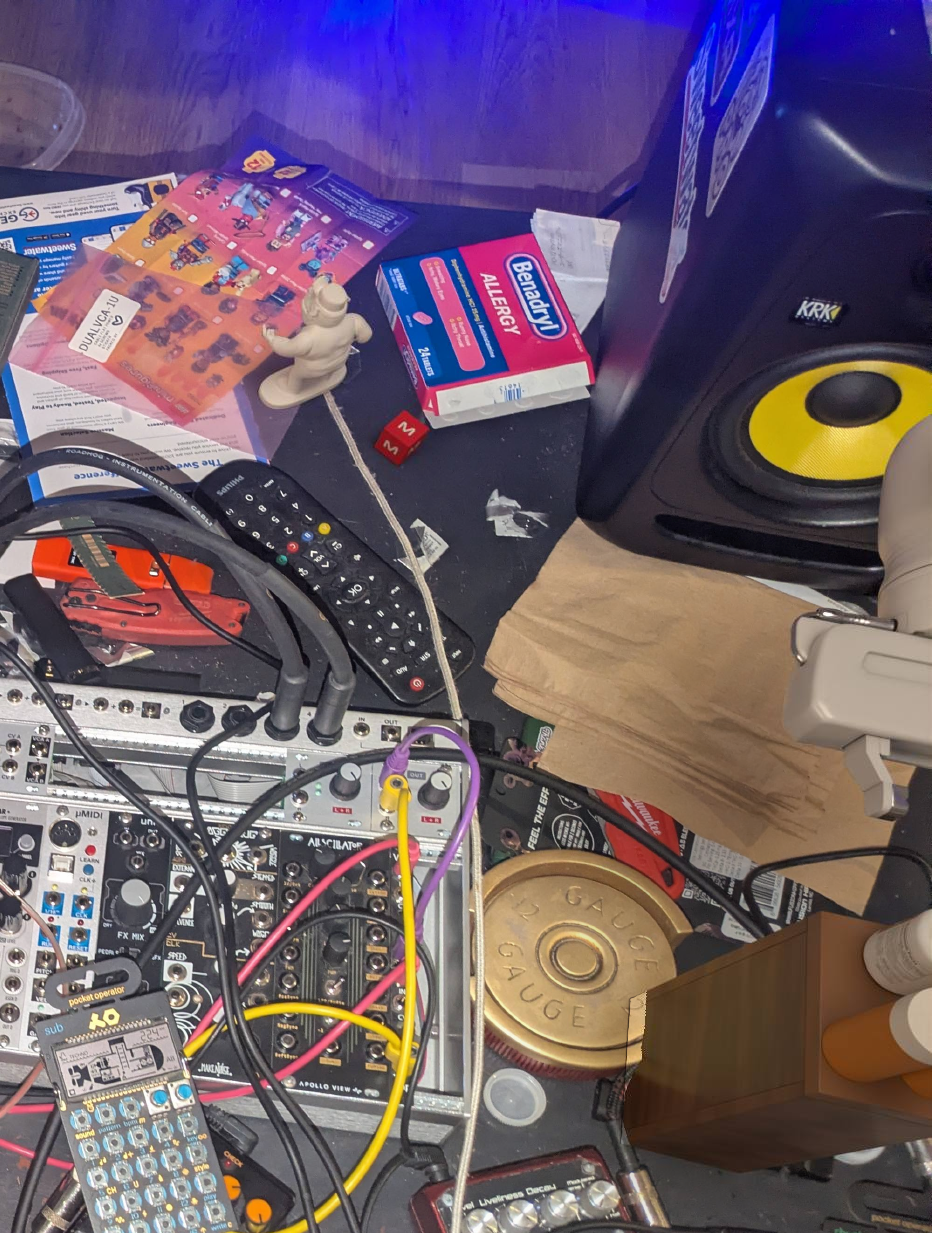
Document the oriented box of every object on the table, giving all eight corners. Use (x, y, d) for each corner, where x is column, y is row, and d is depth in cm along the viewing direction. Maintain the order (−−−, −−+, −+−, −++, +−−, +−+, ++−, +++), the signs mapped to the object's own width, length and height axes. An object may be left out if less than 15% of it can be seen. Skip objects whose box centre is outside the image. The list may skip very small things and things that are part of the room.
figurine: (321, 338, 135) (358, 249, 124) (357, 387, 133) (398, 300, 121) (241, 373, 134) (271, 286, 122) (277, 422, 131) (311, 338, 120)
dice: (418, 448, 130) (429, 428, 127) (398, 466, 129) (409, 447, 126) (394, 429, 131) (404, 409, 128) (373, 447, 130) (383, 428, 127)
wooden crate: (745, 1024, 109) (954, 949, 87) (740, 1173, 105) (958, 1133, 83) (629, 998, 110) (807, 916, 88) (619, 1143, 106) (803, 1096, 84)
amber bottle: (891, 1026, 84) (986, 997, 77) (891, 1092, 83) (988, 1069, 75) (820, 1009, 85) (907, 979, 77) (818, 1075, 83) (908, 1050, 76)
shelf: (954, 949, 87) (971, 943, 86) (958, 1133, 83) (976, 1129, 82) (807, 916, 88) (821, 909, 87) (803, 1096, 84) (818, 1092, 83)
